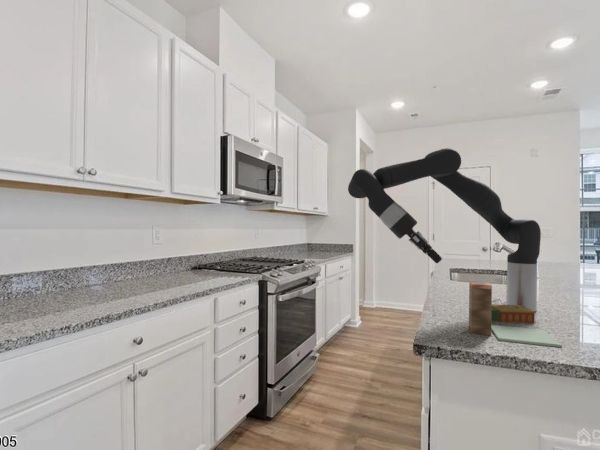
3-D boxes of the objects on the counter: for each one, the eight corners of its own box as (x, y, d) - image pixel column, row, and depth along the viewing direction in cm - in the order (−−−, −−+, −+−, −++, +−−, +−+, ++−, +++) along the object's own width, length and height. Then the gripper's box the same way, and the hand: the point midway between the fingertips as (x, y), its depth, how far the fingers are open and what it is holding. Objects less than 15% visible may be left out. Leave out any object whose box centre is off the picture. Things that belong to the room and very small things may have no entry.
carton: (534, 324, 106) (535, 310, 106) (481, 322, 108) (481, 308, 108) (520, 316, 115) (520, 304, 115) (471, 315, 116) (471, 302, 116)
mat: (498, 340, 89) (498, 338, 89) (489, 326, 102) (489, 324, 102) (561, 347, 85) (561, 344, 85) (543, 332, 97) (543, 330, 97)
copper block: (471, 333, 95) (471, 284, 95) (469, 328, 100) (469, 281, 100) (491, 335, 93) (491, 285, 93) (487, 330, 98) (488, 282, 98)
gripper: (405, 210, 97) (451, 253, 93) (407, 212, 110) (447, 250, 106) (386, 228, 99) (430, 271, 95) (390, 228, 112) (428, 266, 108)
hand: (438, 260), depth 100 cm, fingers open, 4 cm apart
